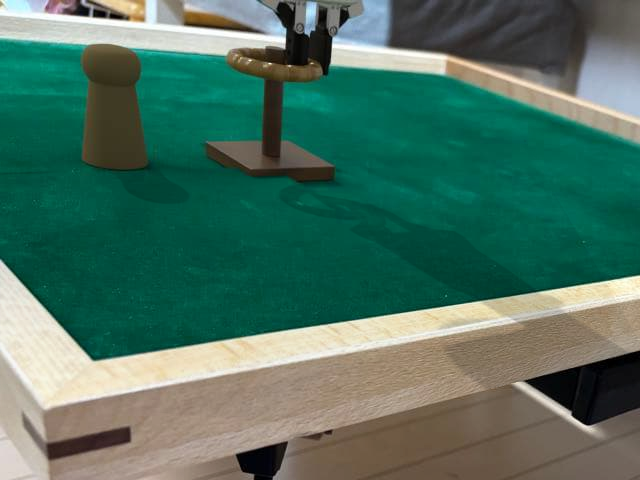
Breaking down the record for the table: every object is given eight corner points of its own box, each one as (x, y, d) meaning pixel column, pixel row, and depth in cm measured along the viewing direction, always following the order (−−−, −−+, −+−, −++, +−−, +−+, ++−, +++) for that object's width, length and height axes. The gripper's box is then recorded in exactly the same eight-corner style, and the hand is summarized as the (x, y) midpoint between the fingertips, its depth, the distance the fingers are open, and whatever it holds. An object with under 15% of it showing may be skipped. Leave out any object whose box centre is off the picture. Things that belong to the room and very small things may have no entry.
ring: (254, 82, 86) (255, 65, 85) (209, 59, 91) (209, 43, 90) (339, 85, 92) (340, 69, 91) (292, 64, 98) (293, 49, 97)
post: (250, 183, 90) (254, 56, 84) (205, 155, 96) (206, 33, 90) (334, 179, 97) (343, 61, 91) (287, 153, 103) (293, 40, 97)
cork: (154, 157, 92) (152, 46, 86) (140, 173, 86) (137, 56, 81) (91, 148, 90) (85, 35, 85) (73, 163, 85) (66, 44, 80)
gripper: (365, -113, 93) (350, 67, 102) (224, -146, 82) (220, 59, 91) (408, -104, 89) (388, 83, 97) (264, -138, 78) (256, 77, 87)
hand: (307, 70), depth 94 cm, fingers closed on ring, 2 cm apart
